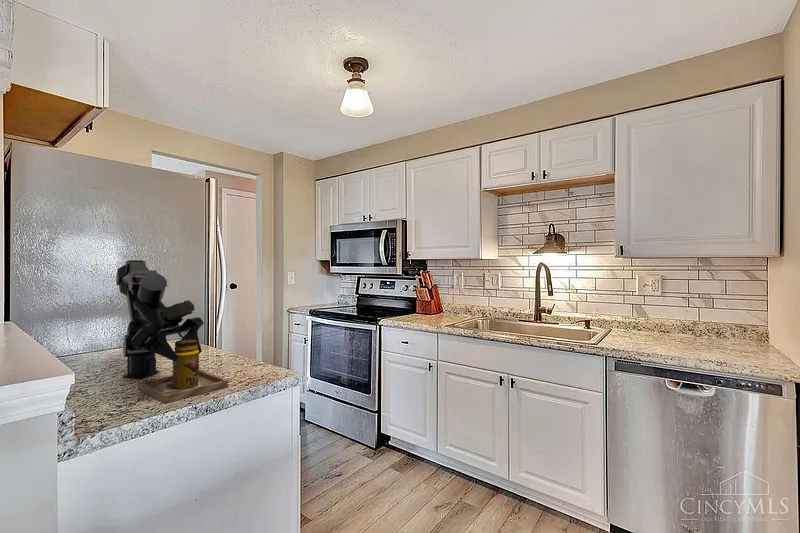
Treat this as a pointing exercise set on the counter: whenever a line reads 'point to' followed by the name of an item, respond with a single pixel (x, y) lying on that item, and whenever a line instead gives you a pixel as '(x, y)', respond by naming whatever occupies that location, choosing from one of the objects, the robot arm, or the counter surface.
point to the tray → (156, 390)
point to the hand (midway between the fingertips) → (188, 356)
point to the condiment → (185, 367)
